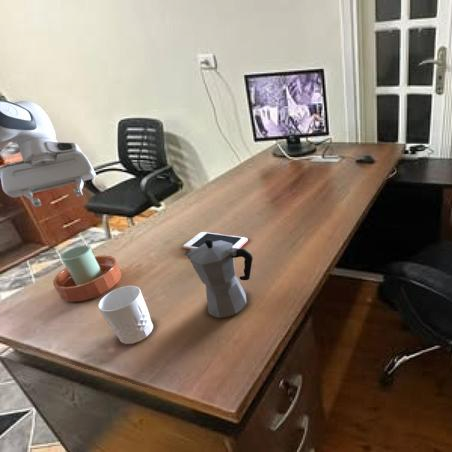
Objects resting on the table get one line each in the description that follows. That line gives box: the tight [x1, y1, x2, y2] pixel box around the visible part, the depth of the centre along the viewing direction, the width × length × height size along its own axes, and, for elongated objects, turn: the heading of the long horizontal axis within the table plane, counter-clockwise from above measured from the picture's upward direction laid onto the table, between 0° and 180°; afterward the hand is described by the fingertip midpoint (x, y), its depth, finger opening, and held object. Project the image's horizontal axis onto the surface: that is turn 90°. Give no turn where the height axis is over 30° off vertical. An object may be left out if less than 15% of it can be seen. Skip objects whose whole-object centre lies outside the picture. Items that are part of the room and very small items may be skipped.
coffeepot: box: [183, 239, 254, 319], centre depth 78 cm, size 15×9×18 cm, turn 83°
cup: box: [60, 245, 103, 286], centre depth 91 cm, size 6×6×10 cm
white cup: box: [97, 285, 154, 345], centre depth 75 cm, size 8×8×10 cm
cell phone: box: [182, 231, 249, 250], centre depth 107 cm, size 9×18×1 cm, turn 69°
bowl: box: [52, 254, 123, 303], centre depth 93 cm, size 14×14×5 cm
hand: (58, 200), depth 93 cm, fingers open, 8 cm apart
